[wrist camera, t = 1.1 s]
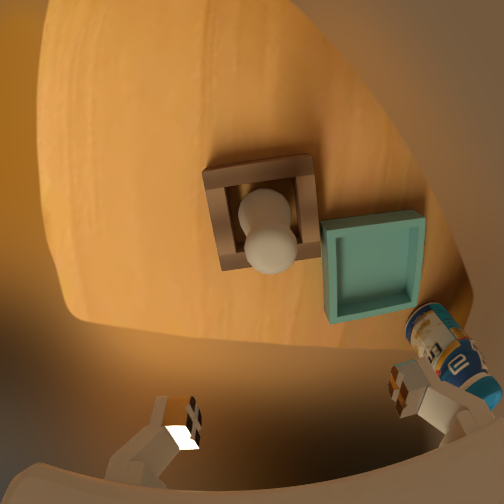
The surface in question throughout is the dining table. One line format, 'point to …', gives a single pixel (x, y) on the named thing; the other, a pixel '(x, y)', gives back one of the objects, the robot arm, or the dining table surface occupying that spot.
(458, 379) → the beverage bottle
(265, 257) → the salt shaker
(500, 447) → the robot arm
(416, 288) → the tray
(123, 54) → the dining table surface
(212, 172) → the socket collar
